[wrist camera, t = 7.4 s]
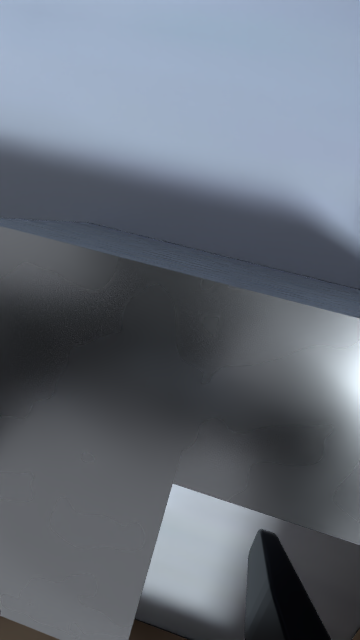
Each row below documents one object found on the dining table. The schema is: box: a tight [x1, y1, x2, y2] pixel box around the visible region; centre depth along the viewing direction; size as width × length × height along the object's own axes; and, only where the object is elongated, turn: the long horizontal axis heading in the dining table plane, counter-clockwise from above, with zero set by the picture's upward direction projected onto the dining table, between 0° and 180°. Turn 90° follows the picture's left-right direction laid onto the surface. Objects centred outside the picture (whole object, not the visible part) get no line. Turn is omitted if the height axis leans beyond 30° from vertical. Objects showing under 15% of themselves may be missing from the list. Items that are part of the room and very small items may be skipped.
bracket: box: [0, 218, 360, 640], centre depth 7 cm, size 9×9×4 cm
